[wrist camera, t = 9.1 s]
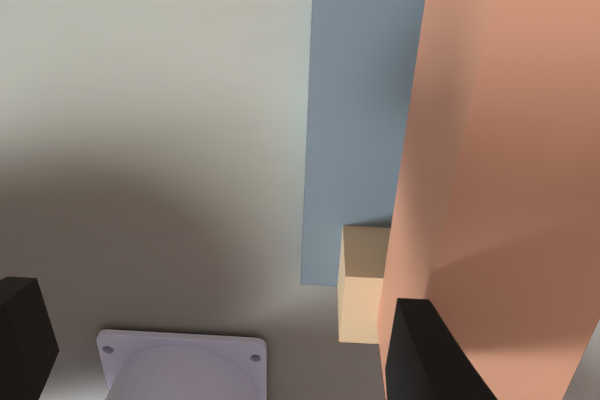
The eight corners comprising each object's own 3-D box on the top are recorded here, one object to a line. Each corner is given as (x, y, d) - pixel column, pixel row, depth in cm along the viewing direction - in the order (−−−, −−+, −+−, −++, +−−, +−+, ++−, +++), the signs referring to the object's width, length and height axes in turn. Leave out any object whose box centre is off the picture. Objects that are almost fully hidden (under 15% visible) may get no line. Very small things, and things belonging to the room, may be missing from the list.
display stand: (514, 280, 21) (550, 353, 18) (301, 269, 21) (296, 339, 18) (670, -201, 13) (797, -240, 9) (321, -211, 13) (319, -252, 10)
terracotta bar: (478, 329, 17) (529, 471, 13) (376, 323, 17) (393, 462, 13) (627, -176, 10) (857, -239, 6) (452, -182, 10) (546, -246, 6)
